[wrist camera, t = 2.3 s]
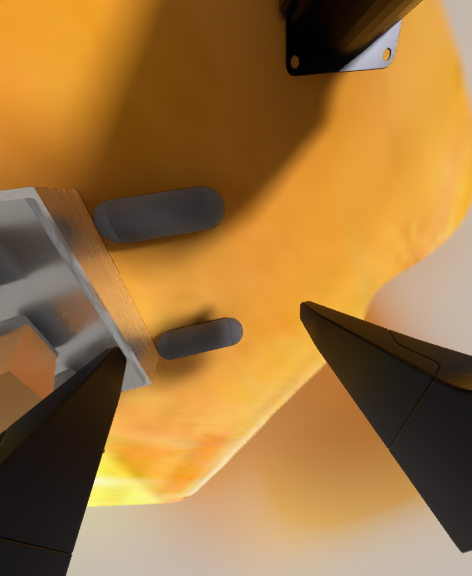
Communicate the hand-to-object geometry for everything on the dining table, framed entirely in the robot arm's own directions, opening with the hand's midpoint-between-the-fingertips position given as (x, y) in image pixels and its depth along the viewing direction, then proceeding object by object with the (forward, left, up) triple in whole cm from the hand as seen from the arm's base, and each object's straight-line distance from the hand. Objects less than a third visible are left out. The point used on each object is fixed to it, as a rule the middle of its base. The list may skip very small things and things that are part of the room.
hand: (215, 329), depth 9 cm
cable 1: (+2, -5, -6) cm, 8 cm away
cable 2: (+2, +5, -6) cm, 8 cm away
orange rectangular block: (+10, 0, -2) cm, 11 cm away
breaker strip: (+10, 0, -6) cm, 12 cm away
